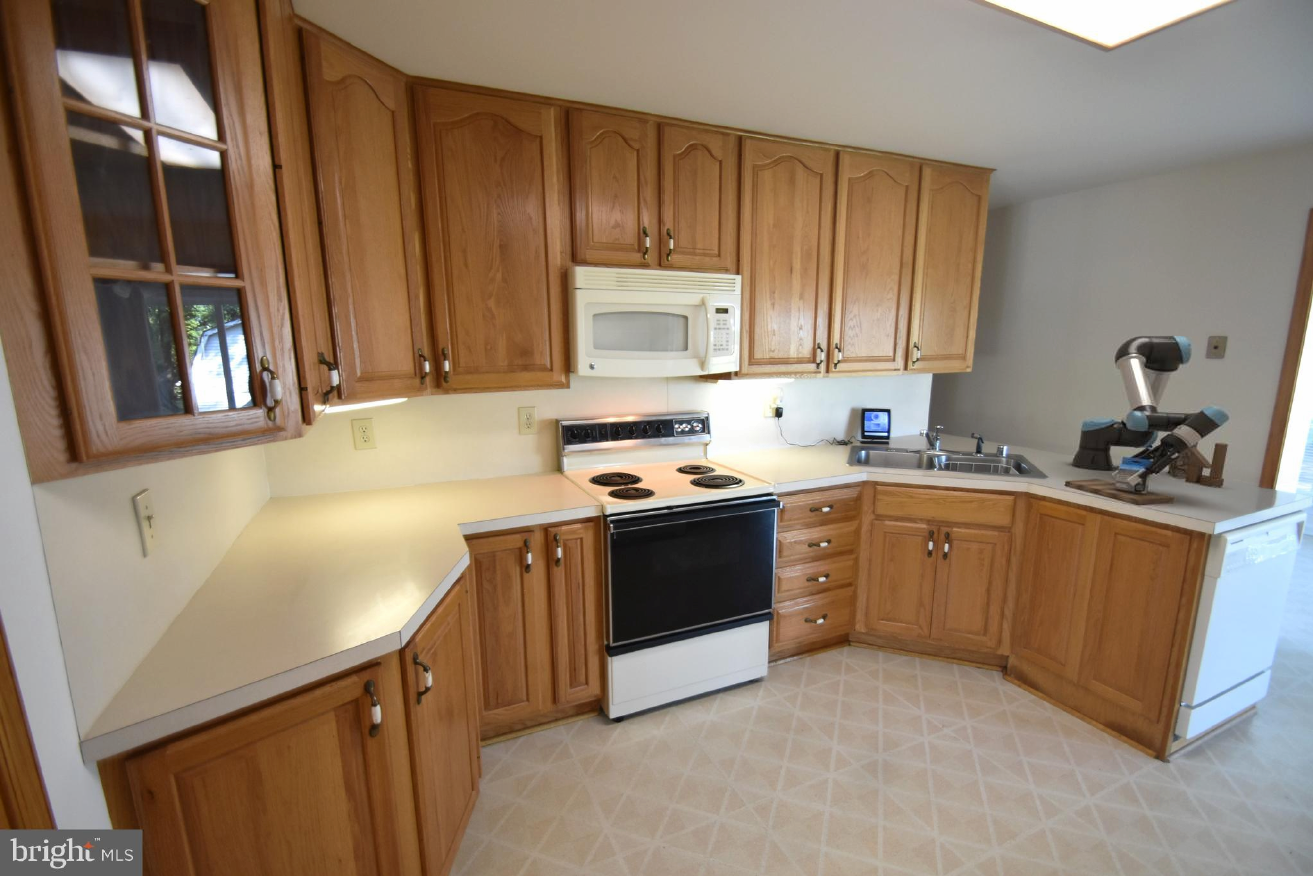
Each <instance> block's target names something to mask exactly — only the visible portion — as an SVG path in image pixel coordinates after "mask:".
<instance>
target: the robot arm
mask: <svg viewBox="0 0 1313 876" xmlns="http://www.w3.org/2000/svg"><path fill="white" fill-rule="evenodd" d="M1191 357H1192V344H1191V341H1190V340H1189V339H1188V337H1186V336H1182V335H1141V336H1140V335H1139V336H1134V337H1132V338H1129V339H1127V340H1126V341H1125V342H1123V343H1122V344H1121V345H1120V346H1119V347H1118V349H1117V351H1116V353H1115V355H1114V364H1115V367H1116V369H1118V370H1119V371H1120V373H1121V377H1122V378H1121V379H1122V382H1123V385H1124V389H1125V392H1126V396H1127V400H1128V403H1129V407H1130V409H1129V412H1128V413H1127V414H1125V415H1123V416H1122V418H1121V420H1120V421H1116V419H1115V418H1113V417H1095V418H1094V417H1093V418H1086V419H1085V420H1083V422H1082V424H1081V428H1080V438H1079V444H1078V450H1077V451H1076V453H1075V455H1074V457H1073V459H1072V460H1071V462H1072V463H1071V465H1072V466H1073V465H1074V467H1077V468H1080V467H1081V468H1082V469H1087V470H1094V471H1095V470H1097V471H1111V470H1110V469H1112V470H1113V468H1114V464H1113V459H1112V456H1111V448H1112V447H1122V448H1134V449H1141V448H1143V449H1142V450H1141V451H1139V452H1137V453H1135V454H1134V455H1132V456H1130V457H1129V458H1137V459H1144V460H1152V462H1151V463H1150V464H1149V465H1148V467H1144V468H1145V469H1146V470H1145V469H1142V470H1140V471H1139V472H1137V473H1136V474H1135V475H1133V476H1132V477H1130V478H1129V479H1127V481H1128V482H1129V483H1130V484H1131V485H1132V486H1134V485H1135V484H1136V483H1138V482H1139V481H1141V480H1142V479H1144V478H1145V477H1147V476H1148V475H1150V476H1151V475H1154V474H1155V475H1158V474H1160V473H1161V472H1162V471H1163V470H1164V469H1166V467H1169V464H1170V463H1171V462H1173V461H1174V460H1175V459H1177V458H1179V457H1180V456H1179V455H1178V454H1181V453H1182V452H1184V451H1185V450H1187V449H1188V447H1191V446H1193V445H1194V444H1195V443H1197V442H1198V443H1199V442H1200V441H1201V440H1203V439H1205V437H1207V436H1209V435H1210V434H1212V433H1213V432H1214V431H1215V430H1217V429H1219V428H1220V427H1223V425H1225V423H1227V422H1228V421H1229V420H1230V416H1229V414H1228V413H1227V412H1226V411H1225V410H1224V409H1222V408H1220V407H1218V406H1215V405H1208V406H1205V407H1204V408H1202V409H1201V410H1200V411H1197V412H1192V413H1191V412H1182V413H1181V412H1165V411H1163V412H1162V411H1158V407H1159V404H1160V402H1161V401H1162V398H1163V395H1164V392H1165V390H1166V388H1167V385H1168V382H1169V379H1170V377H1171V375H1172V374H1173V373H1175V372H1177V371H1178V370H1179V367H1180V365H1181V366H1183V365H1184V366H1185V365H1186V364H1189V362H1190V360H1191ZM1160 432H1161V433H1162V432H1163V433H1167V434H1166V435H1165V436H1163V437H1161V438H1160V439H1159V443H1160V444H1158V445H1156V446H1153V445H1154V444H1155V443H1156V441H1157V440H1158V438H1159V433H1160ZM1132 463H1140V464H1141V463H1142V462H1138V461H1132ZM1117 473H1118V469H1117V470H1115V471H1114V472H1113V473H1112V474H1111V476H1112V477H1114V478H1115V480H1116V479H1117Z"/></svg>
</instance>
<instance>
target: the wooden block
mask: <svg viewBox="0 0 1313 876" xmlns="http://www.w3.org/2000/svg"><path fill="white" fill-rule="evenodd" d="M1228 447H1229V444H1228V443H1225V442H1215V444H1214V449H1213V453H1212V460H1211V463H1210V461H1209V460H1208V459H1207V457H1205V456H1204V455H1203V454H1202V453H1201V452H1200V450H1198V448H1197V449H1191V451H1190V457H1189V463H1188V469H1187V474H1186V479H1185V483H1191V484H1199V485H1201V486H1206V485H1207V486H1206V487H1211V486H1215V487H1214V488H1216V487H1218V488H1222V487H1221V486H1224V481H1225V478H1223V473H1224V467H1225V462H1226V457H1227V451H1228ZM1204 469H1210V472H1209V475H1205V474H1203V472H1204Z"/></svg>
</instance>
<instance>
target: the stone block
mask: <svg viewBox="0 0 1313 876" xmlns="http://www.w3.org/2000/svg"><path fill="white" fill-rule="evenodd" d="M1198 444H1199V441H1198V442H1197V443H1195V444H1194V445H1193V446H1191V447H1188V449H1187V450H1185V451H1184V452H1182V453H1181V454H1178V455H1179V456H1180V457H1179V458H1177V459H1175V460H1174V461H1173V462H1171V463H1170V464H1169V465H1168V470H1167V474H1169V475H1171V476H1172V477H1173V478H1179V479H1185V480H1186V474H1187V469H1188V463H1189V457H1190V451H1191V449H1197V450H1198Z"/></svg>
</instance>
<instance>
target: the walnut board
mask: <svg viewBox="0 0 1313 876" xmlns="http://www.w3.org/2000/svg"><path fill="white" fill-rule="evenodd" d="M1064 481H1065V482H1064V486H1065V487H1069V488H1073V489H1076V490H1080V491H1083V492H1089V493H1091V494H1095V495H1098V496H1102V497H1106V498H1110V499H1114V500H1118V501H1120V502H1121V501H1122V502H1126V503H1128V504H1133V505H1136V506H1142V505H1143V506H1146V505H1147V506H1148V505H1159V504H1171V503H1172V504H1173V503H1174V499H1175V497H1174V496H1170V495H1166V494H1162V493H1157V492H1153V491H1147V493H1139V492H1133V491H1127V490H1121V489H1115V485H1116V482H1110V481H1107V480H1102V479H1098V478H1092V479H1091V478H1089V479H1076V480H1075V479H1073V480H1064Z"/></svg>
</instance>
